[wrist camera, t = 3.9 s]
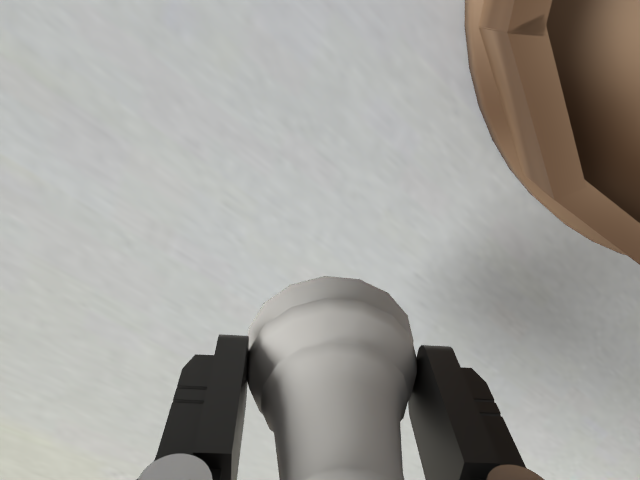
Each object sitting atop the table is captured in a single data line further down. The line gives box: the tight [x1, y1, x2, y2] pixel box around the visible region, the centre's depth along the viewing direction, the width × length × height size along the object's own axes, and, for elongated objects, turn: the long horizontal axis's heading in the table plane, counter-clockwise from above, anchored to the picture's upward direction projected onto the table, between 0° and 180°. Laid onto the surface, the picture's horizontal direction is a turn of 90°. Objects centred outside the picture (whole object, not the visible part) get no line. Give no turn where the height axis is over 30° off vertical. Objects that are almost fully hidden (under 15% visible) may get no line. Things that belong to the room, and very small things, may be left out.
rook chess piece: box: [247, 276, 417, 480], centre depth 11 cm, size 4×4×8 cm
